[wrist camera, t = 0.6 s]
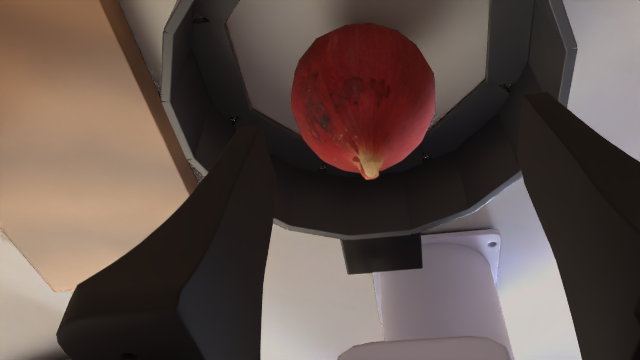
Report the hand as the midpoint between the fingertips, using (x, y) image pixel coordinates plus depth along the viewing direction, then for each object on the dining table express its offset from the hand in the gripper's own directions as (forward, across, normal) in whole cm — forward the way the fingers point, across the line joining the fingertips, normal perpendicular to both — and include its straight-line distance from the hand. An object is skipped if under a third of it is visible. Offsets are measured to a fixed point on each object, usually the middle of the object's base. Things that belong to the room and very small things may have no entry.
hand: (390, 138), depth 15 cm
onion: (+10, +1, +3) cm, 11 cm away
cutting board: (+10, +17, +7) cm, 21 cm away
